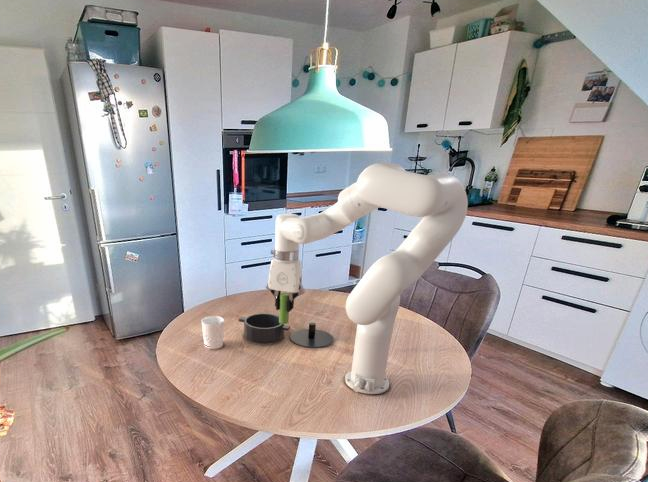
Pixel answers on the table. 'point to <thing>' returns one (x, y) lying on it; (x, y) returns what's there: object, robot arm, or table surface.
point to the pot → (263, 328)
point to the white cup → (213, 331)
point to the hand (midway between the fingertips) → (284, 309)
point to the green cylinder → (283, 308)
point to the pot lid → (311, 337)
